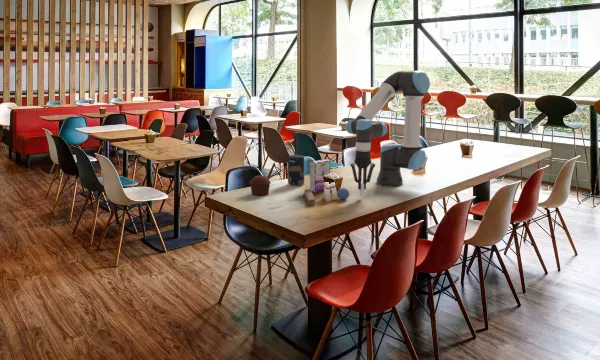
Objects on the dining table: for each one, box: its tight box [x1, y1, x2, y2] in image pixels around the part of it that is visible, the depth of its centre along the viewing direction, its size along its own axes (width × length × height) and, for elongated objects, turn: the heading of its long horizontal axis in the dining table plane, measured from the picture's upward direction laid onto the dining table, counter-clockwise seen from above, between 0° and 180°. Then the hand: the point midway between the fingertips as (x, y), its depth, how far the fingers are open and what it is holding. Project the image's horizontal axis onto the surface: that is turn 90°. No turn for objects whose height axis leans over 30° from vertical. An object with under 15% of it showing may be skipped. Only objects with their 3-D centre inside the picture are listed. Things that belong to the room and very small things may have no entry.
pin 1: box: [323, 182, 329, 200], centre depth 270 cm, size 2×2×8 cm
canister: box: [287, 153, 305, 187], centre depth 301 cm, size 10×10×18 cm
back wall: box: [304, 188, 316, 207], centre depth 268 cm, size 3×22×3 cm, turn 5°
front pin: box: [330, 182, 339, 201], centre depth 268 cm, size 2×2×8 cm
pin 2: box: [324, 184, 331, 202], centre depth 266 cm, size 2×2×8 cm
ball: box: [337, 187, 350, 201], centre depth 269 cm, size 6×6×6 cm
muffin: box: [249, 174, 272, 197], centre depth 279 cm, size 12×11×10 cm
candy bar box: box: [309, 159, 331, 193], centre depth 289 cm, size 11×5×16 cm, turn 129°
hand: (361, 195), depth 270 cm, fingers closed
